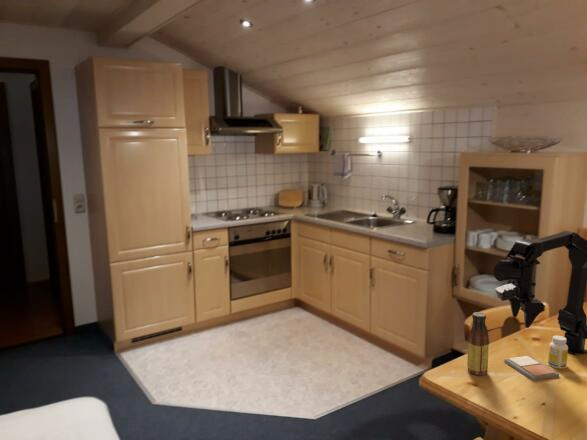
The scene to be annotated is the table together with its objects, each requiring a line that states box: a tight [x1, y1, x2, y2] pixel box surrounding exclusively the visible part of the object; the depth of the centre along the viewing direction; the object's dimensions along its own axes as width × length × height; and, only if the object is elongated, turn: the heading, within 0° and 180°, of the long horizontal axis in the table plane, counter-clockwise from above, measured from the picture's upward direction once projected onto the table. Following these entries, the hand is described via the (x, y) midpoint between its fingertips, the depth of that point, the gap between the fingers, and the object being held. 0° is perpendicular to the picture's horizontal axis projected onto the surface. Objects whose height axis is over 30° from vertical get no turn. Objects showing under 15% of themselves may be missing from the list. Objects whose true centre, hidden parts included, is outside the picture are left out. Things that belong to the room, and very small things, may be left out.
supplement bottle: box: [547, 335, 569, 369], centre depth 156 cm, size 5×5×10 cm
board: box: [503, 355, 560, 382], centre depth 154 cm, size 10×13×1 cm
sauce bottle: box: [466, 311, 490, 377], centre depth 151 cm, size 7×6×20 cm
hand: (520, 322), depth 158 cm, fingers open, 9 cm apart
